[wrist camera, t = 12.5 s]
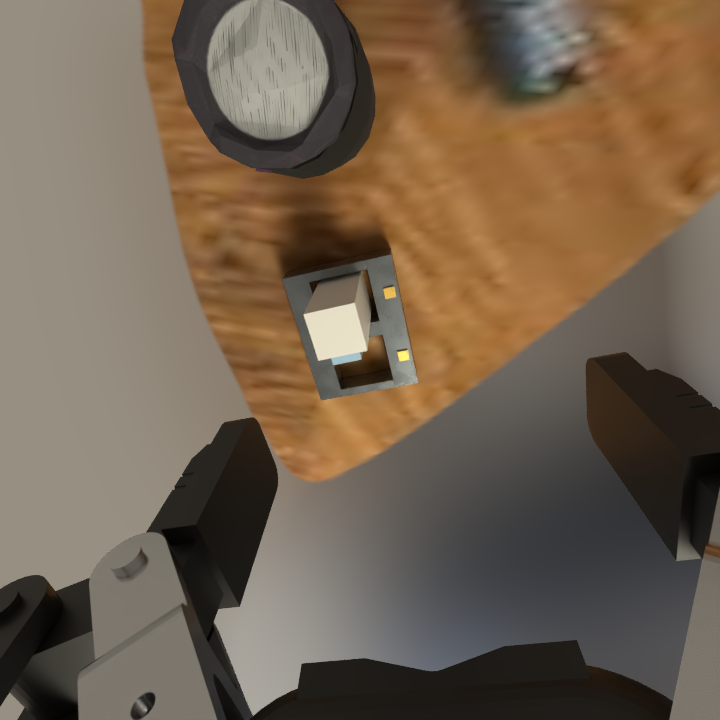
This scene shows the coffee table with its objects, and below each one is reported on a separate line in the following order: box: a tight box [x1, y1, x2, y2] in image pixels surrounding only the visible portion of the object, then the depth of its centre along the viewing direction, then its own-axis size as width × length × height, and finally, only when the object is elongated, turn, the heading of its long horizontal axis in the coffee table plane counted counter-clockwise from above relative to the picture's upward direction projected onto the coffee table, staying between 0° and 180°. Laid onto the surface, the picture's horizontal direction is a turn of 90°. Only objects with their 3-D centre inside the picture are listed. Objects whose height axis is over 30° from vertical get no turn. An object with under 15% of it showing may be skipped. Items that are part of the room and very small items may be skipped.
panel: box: [282, 248, 418, 400], centre depth 43 cm, size 13×10×3 cm
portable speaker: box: [172, 0, 375, 179], centre depth 27 cm, size 9×9×20 cm
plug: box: [303, 270, 372, 365], centre depth 39 cm, size 5×4×10 cm
